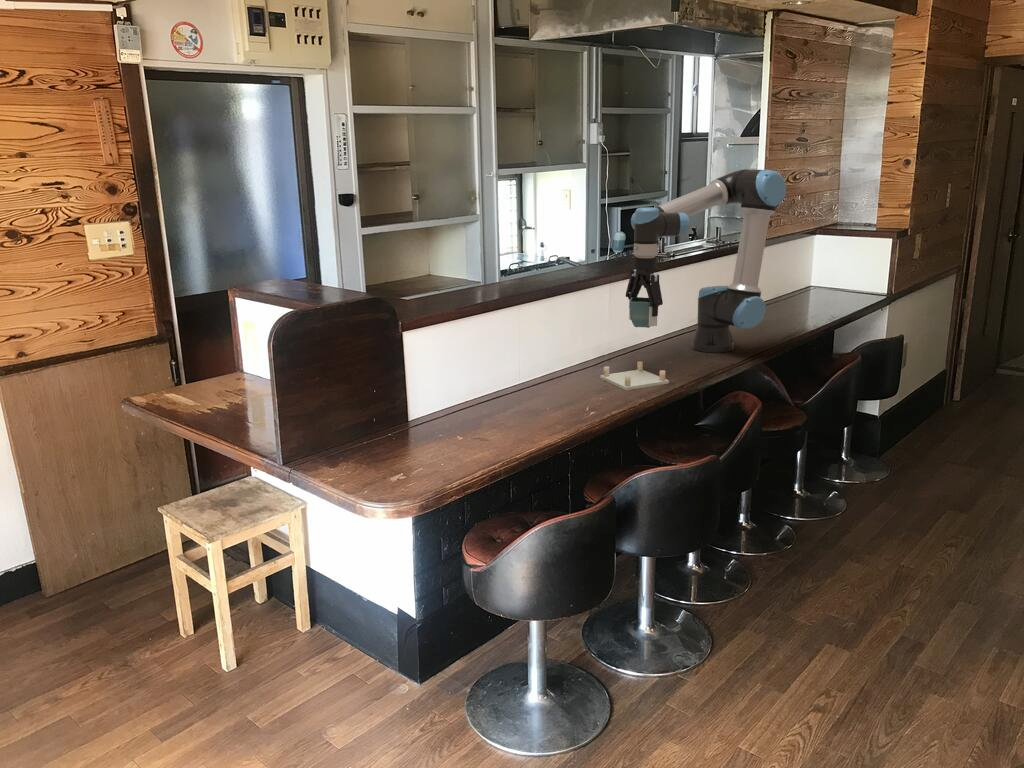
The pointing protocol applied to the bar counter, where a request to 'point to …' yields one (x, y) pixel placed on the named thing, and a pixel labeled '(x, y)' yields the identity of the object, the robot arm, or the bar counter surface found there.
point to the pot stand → (634, 378)
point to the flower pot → (639, 311)
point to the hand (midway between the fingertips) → (642, 322)
